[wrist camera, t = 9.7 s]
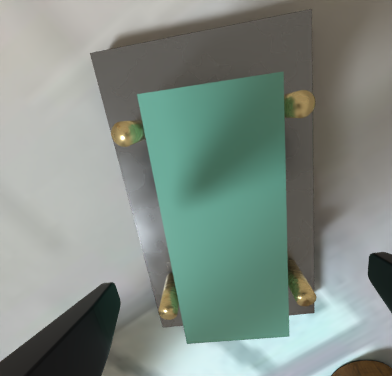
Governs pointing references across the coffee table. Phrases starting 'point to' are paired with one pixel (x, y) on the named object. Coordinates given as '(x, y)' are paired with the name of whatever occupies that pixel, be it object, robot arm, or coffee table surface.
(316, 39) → the coffee table surface
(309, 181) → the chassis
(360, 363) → the brown wooden tall piece
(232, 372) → the coffee table surface
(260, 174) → the green rectangular block
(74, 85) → the coffee table surface
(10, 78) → the coffee table surface
